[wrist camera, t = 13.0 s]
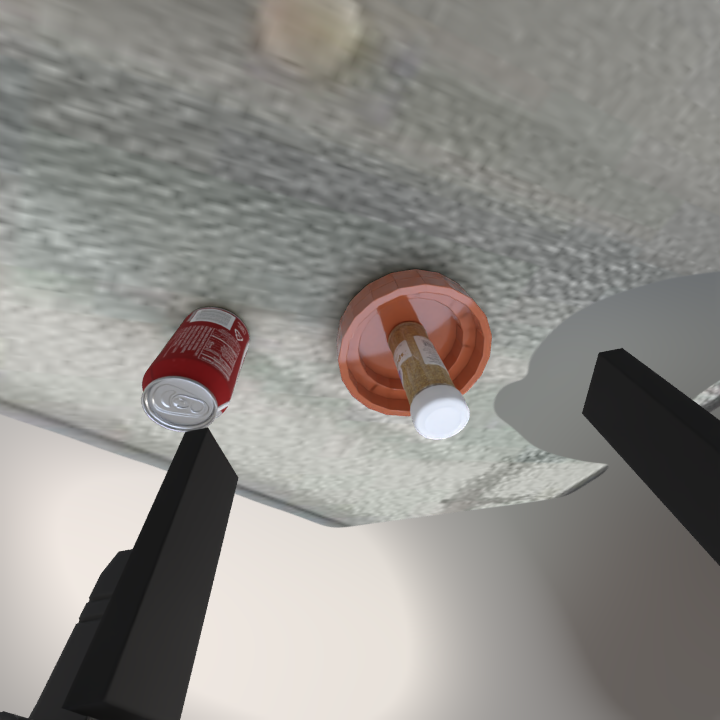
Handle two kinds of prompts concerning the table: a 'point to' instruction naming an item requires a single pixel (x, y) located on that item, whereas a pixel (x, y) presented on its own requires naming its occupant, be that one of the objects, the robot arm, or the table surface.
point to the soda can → (196, 371)
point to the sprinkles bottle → (427, 383)
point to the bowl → (409, 304)
